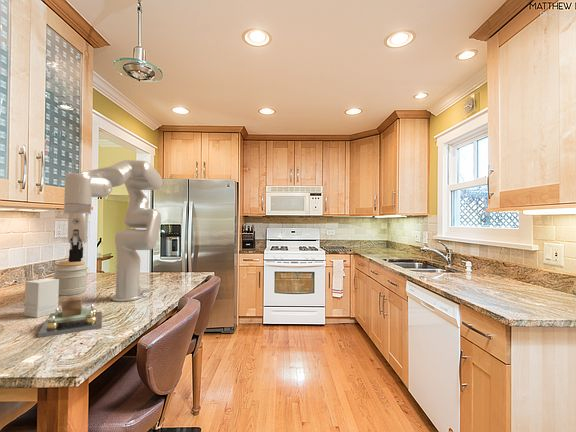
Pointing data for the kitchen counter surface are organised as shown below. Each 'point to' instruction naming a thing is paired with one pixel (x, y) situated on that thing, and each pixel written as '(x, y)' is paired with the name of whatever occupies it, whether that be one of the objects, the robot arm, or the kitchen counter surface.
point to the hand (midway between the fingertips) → (76, 259)
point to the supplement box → (41, 297)
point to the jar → (71, 277)
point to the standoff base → (71, 324)
